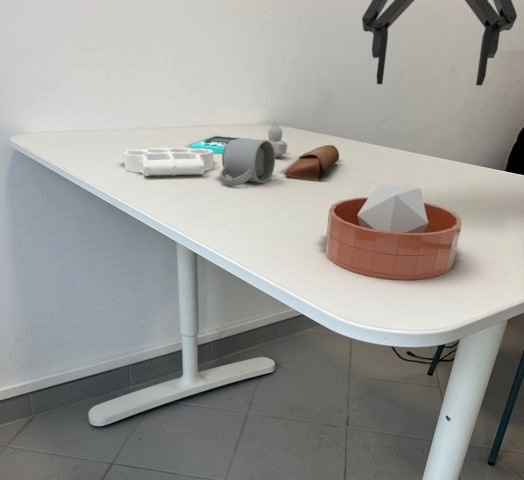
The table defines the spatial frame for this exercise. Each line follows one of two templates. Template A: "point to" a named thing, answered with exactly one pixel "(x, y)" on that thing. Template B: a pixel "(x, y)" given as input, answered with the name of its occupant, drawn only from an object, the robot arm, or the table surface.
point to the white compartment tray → (168, 161)
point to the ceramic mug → (247, 161)
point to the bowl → (392, 244)
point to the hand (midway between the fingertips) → (429, 81)
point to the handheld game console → (214, 144)
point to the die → (394, 210)
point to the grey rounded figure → (277, 140)
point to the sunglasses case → (314, 163)
